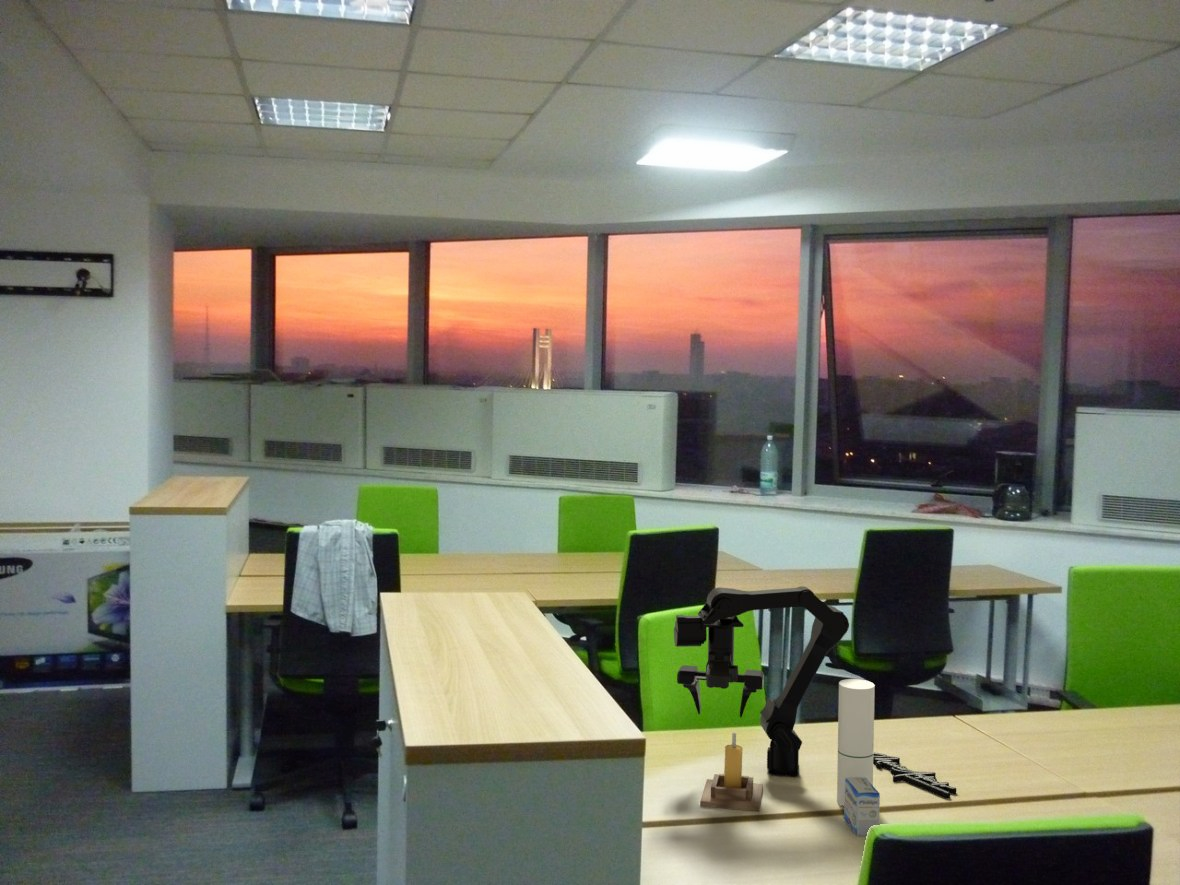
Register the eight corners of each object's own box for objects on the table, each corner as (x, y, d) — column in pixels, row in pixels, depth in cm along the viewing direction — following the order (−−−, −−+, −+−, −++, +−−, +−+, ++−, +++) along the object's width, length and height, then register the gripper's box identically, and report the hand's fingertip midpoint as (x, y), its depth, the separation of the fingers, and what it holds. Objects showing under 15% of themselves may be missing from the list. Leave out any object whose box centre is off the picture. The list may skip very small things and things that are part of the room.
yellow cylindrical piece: (741, 789, 219) (743, 731, 219) (740, 796, 216) (742, 737, 215) (724, 787, 220) (726, 729, 219) (722, 794, 216) (724, 735, 216)
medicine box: (843, 819, 207) (844, 777, 206) (865, 818, 207) (866, 776, 207) (856, 837, 199) (857, 792, 199) (879, 836, 200) (880, 792, 199)
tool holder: (762, 788, 222) (763, 773, 222) (759, 811, 211) (759, 795, 210) (706, 783, 225) (707, 769, 225) (700, 805, 213) (700, 790, 213)
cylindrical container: (873, 798, 217) (875, 680, 216) (871, 811, 211) (873, 690, 209) (838, 793, 220) (840, 677, 218) (835, 806, 213) (837, 687, 211)
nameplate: (842, 755, 239) (872, 747, 244) (842, 762, 239) (872, 753, 244) (940, 796, 216) (971, 786, 221) (940, 803, 216) (971, 793, 221)
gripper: (673, 652, 224) (673, 723, 225) (761, 658, 220) (760, 730, 221) (680, 640, 235) (680, 707, 236) (764, 645, 230) (763, 714, 231)
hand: (720, 715), depth 231 cm, fingers open, 9 cm apart
